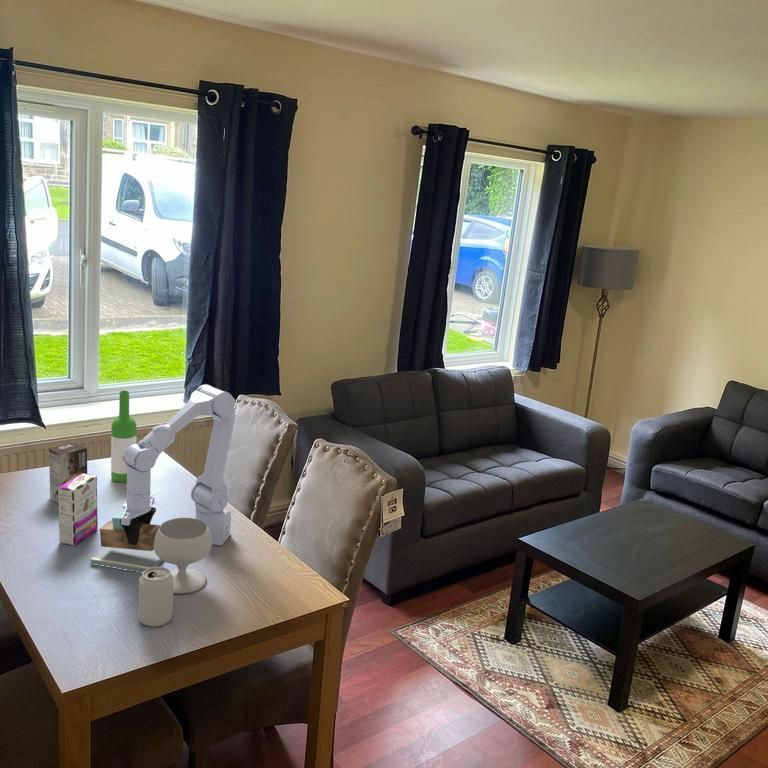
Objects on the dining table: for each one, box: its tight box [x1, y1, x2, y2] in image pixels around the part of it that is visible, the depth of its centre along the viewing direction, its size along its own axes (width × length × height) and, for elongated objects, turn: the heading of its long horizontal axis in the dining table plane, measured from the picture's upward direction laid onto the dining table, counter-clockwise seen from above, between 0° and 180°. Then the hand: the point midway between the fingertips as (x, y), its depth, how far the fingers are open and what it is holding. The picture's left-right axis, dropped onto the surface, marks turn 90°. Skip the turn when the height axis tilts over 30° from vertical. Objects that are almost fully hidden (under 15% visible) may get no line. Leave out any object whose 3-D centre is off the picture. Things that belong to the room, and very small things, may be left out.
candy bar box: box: [57, 473, 99, 547], centre depth 200 cm, size 11×5×16 cm, turn 168°
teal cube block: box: [111, 511, 125, 530], centre depth 191 cm, size 4×4×3 cm
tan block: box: [99, 520, 161, 551], centre depth 191 cm, size 14×5×5 cm, turn 82°
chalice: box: [154, 517, 213, 595], centre depth 183 cm, size 14×14×15 cm
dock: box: [90, 547, 164, 572], centre depth 193 cm, size 16×11×2 cm
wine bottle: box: [110, 390, 138, 483], centre depth 239 cm, size 8×8×30 cm
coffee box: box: [48, 442, 88, 503], centre depth 224 cm, size 9×6×16 cm
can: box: [138, 566, 174, 628], centre depth 167 cm, size 8×8×12 cm
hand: (137, 539), depth 191 cm, fingers closed on tan block, 5 cm apart
